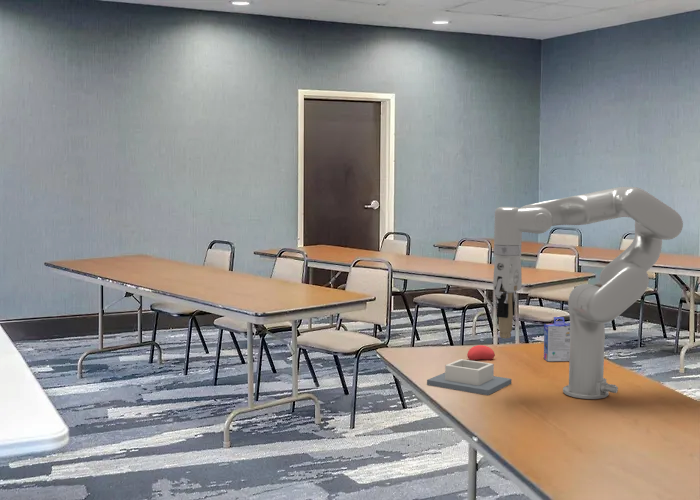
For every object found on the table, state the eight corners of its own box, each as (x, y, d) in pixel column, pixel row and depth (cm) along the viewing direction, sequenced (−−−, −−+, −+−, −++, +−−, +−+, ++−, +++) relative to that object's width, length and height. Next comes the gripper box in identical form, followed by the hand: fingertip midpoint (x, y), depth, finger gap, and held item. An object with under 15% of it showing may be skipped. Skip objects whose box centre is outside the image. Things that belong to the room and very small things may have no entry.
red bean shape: (468, 361, 282) (463, 346, 279) (493, 351, 281) (488, 337, 278) (472, 369, 277) (467, 355, 274) (497, 360, 276) (492, 345, 274)
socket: (511, 383, 246) (511, 364, 245) (488, 395, 233) (488, 374, 232) (452, 374, 257) (452, 355, 257) (426, 384, 244) (427, 365, 244)
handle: (505, 334, 234) (506, 282, 232) (519, 338, 228) (520, 285, 227) (491, 336, 232) (492, 283, 230) (505, 340, 226) (506, 286, 225)
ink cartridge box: (570, 357, 281) (571, 316, 279) (576, 361, 275) (577, 319, 274) (542, 358, 280) (543, 316, 278) (547, 361, 274) (548, 319, 273)
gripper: (508, 254, 219) (506, 321, 220) (531, 249, 233) (529, 313, 234) (482, 252, 223) (481, 319, 224) (506, 248, 237) (504, 310, 238)
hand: (505, 315), depth 229 cm, fingers closed on handle, 3 cm apart
